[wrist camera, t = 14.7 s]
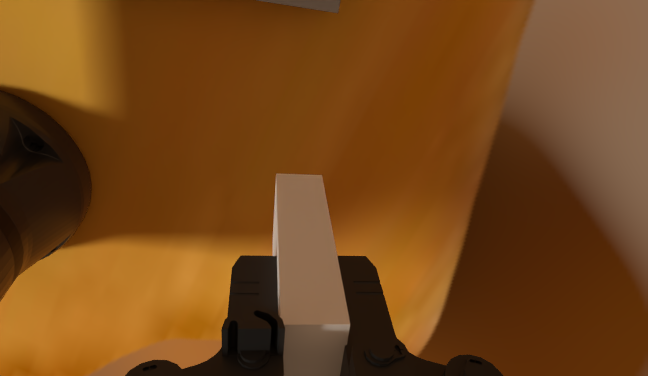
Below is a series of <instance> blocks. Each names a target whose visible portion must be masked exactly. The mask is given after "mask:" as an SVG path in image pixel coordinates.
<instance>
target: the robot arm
mask: <svg viewBox="0 0 648 376" xmlns="http://www.w3.org/2000/svg"><path fill="white" fill-rule="evenodd" d="M90 199H91V180H90V175H89V171H88V167H87V165H86V162H85V160H84V158H83V156H82V154H81V152H80V150H79V148H78V147H77V145H76V144H75V142H74V141H73V140H72V138H71V137H70V136H69V135H68V134H67V132H66V131H65V130H64V129H63V128H62V127H61V126H60V125H59V124H58V123H57V122H55V121H54V120H53V119H52V118H51V117H50V116H48V115H47V114H46V113H44V112H43V111H41V110H40V109H38V108H37V107H35V106H34V105H32V104H30V103H28V102H26V101H25V100H23V99H20V98H18V97H16V96H14V95H11V94H9V93H6V92H3V91H0V301H1V300H2V298H3V297H4V295H5V294H6V292H7V291H8V289H9V288H10V286H11V285H12V283H13V282H14V281H15V279H16V278H17V276H18V275H20V274H21V273H23V272H24V271H25V270H26V269H28V268H29V267H30V266H32V265H33V264H35V263H36V262H37V261H39V260H41V259H43V258H45V257H47V256H49V255H50V254H52V253H54V252H55V251H57V250H58V249H59V248H61V247H62V246H63V245H64V244H65V243H66V242H67V241H68V240H69V239H70V238H71V237H72V236H73V234H74V233H75V231H76V230H77V228H78V226H79V225H80V223H81V221H82V220H83V218H84V216H85V214H86V212H87V210H88V207H89V204H90ZM125 376H503V375H502V374H501V372H500V371H499V370H498V369H496V368H495V366H494V365H493V364H491V363H490V362H488V361H486V360H484V359H482V358H481V357H477V356H472V355H458V356H456V357H454V358H452V359H451V360H450V361H449V362H448V364H447V365H446V366H445V365H442V364H438V363H434V362H430V361H426V360H424V359H421V358H418V357H416V356H414V355H413V354H411V353H409V352H408V350H407V349H406V347H405V345H404V344H403V343H402V342H401V341H399V340H398V339H397V337H396V335H395V332H394V329H393V325H392V322H391V318H390V315H389V311H388V308H387V304H386V301H385V297H384V295H383V290H382V287H381V284H380V280H379V276H378V273H377V269H376V267H375V266H374V265H373V264H372V263H371V262H370V261H369V259H368V258H367V257H366V256H337V252H336V246H335V241H334V236H333V230H332V225H331V220H330V215H329V209H328V204H327V199H326V194H325V188H324V183H323V178H322V175H306V174H279V173H276V185H275V204H274V223H273V256H240V257H239V259H238V260H237V262H236V263H235V264H234V266H233V267H232V274H231V285H230V296H229V307H228V317H227V318H226V319H225V321H224V324H223V327H222V348H221V349H220V351H219V352H218V353H217V354H216V355H215V356H213V357H212V358H210V359H209V360H207V361H205V362H203V363H201V364H198V365H195V366H192V367H188V368H185V369H181V368H180V367H179V366H178V365H177V364H175V363H172V362H170V361H167V360H152V361H148V362H145V363H141V364H139V365H138V366H136V367H135V368H133V369H131V370H130V371H129V372H128V373H127V374H126V375H125Z"/></svg>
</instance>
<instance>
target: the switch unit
mask: <svg viewBox="0 0 648 376" xmlns="http://www.w3.org/2000/svg"><path fill="white" fill-rule="evenodd" d="M258 1H264V2H270V3H277V4H283V5H289V6H296V7H302V8H308V9H314V10H321V11H327V12H333V13H338V11H339V5H340V0H258Z"/></svg>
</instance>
